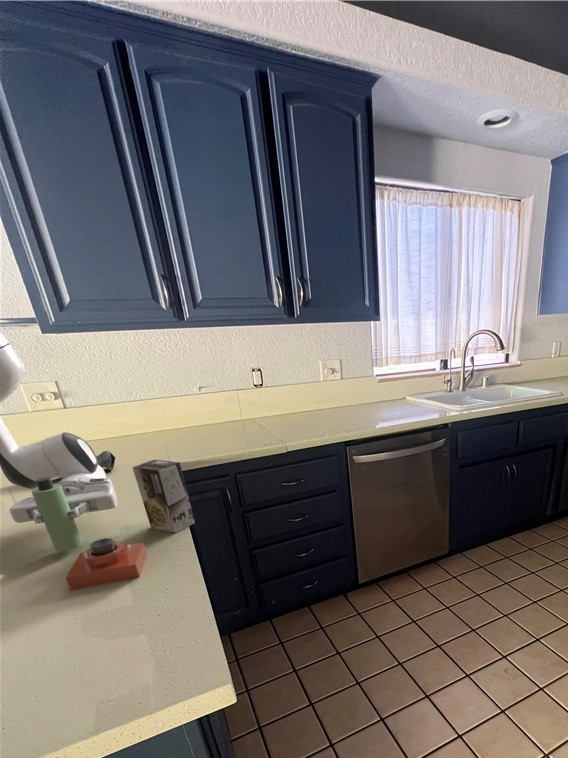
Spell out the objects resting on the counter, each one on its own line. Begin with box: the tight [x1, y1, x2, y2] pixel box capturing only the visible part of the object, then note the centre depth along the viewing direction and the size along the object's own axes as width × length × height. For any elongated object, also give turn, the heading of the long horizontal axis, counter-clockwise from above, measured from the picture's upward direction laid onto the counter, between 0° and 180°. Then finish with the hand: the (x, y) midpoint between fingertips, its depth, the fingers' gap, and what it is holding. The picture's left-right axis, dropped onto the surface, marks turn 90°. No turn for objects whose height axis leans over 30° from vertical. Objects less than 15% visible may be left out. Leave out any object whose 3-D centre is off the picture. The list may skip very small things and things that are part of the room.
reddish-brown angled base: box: [65, 541, 148, 591], centre depth 87 cm, size 12×10×5 cm
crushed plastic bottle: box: [56, 450, 116, 480], centre depth 146 cm, size 13×7×25 cm
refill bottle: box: [31, 477, 84, 552], centre depth 93 cm, size 5×5×16 cm
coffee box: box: [132, 459, 196, 534], centre depth 104 cm, size 9×6×16 cm
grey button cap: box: [89, 537, 116, 556], centre depth 86 cm, size 4×4×2 cm
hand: (56, 517), depth 93 cm, fingers closed on refill bottle, 5 cm apart
